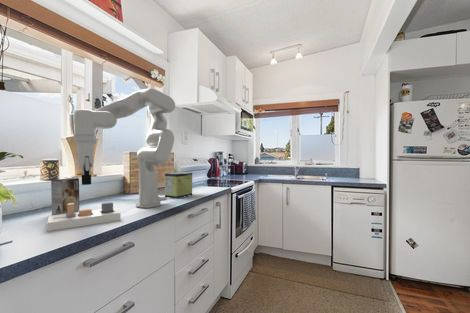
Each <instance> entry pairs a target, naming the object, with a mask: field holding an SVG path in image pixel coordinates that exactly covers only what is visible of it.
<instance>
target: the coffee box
mask: <svg viewBox="0 0 470 313" xmlns="http://www.w3.org/2000/svg"><path fill="white" fill-rule="evenodd" d="M50 182H51V184H50V187H51V188H50V189H51V216H52V215H60V214H66V213H68V203H74V212H75V213H76V212H79V211H80V178H78V177H77V178H76V177H75V178H74V177H72V178H71V177H68V178H67V177H65V178H59V179H58V178H57V179H51V181H50Z"/></svg>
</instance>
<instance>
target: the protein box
mask: <svg viewBox="0 0 470 313" xmlns="http://www.w3.org/2000/svg"><path fill="white" fill-rule="evenodd" d="M188 195H191V196H193V172H188V171H187V172H185V171H178V172H167V173H165V174H164V197H166V198H167V197H170V198H169V199H175V198H177V199H180V198H179V197H182V198H185V197H184V196H186V197H189V196H188Z"/></svg>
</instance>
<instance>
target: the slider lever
mask: <svg viewBox="0 0 470 313" xmlns="http://www.w3.org/2000/svg"><path fill="white" fill-rule="evenodd" d="M75 213H76V212H74V203H68V213H66V217H74V216H76V214H75Z"/></svg>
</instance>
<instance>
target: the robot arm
mask: <svg viewBox="0 0 470 313" xmlns="http://www.w3.org/2000/svg"><path fill="white" fill-rule="evenodd" d="M145 107H147V111H148V113H149V114H150V117H151V122H150V125H149V126H150V127H149V129H148V132H147V134H146V138H145V142H146V144H147V145H148V146H145V147H142V148H140V149H139V150H138V151H137V154H136V160H137V164H138V202H136V203H135V207H136V208H138V209H139V208H141V209H149V208H151V209H152V208H156V207H160V206H161V202H162V201H163V202H164V201H167V199H168V198H167V197H165V196H163V197H162V196H158V195H159V193H158V190H159V189H158V188H159V186H158V185H159V184H158V182H159V179H158V177H159V175H158V174H159V173H158V169H157V167H156V166H163V165H166V164H167V163H168V161H169V159H170V157H171V153H172V150H173V146H174V143H175V135H174V133H173V131H172V130H171V129H168V128H167V126H168V122H167V119H166V118H165V116H164V114H169V113H172V112H174V111H175V109H176V102H175V100H174V99H173V98H172V97H170V96H169V95H167V94H165V93H164V92H162V91H160V90H157V89H155V88H144V89H139V90H137V91H134V92H132V93H130V94H129V95H127V96H125V97H123V98H121V99H118V100H115V101H114V102H111V103H108V104H106V105H104V106H102V107H99V108H97V109H95V110H92V109H87V108H85V109H84V108H78V109H75V110H74V111H73V135H74V136H73V139H74V144H77V148H76V150H77V151H76V152H77V153H76V157H77V158H76V159H77V166H76V167H77V168H79V169H81V185H82V186H87V185H91V184H92V174H91V173H92V172H91V168H93V166H94V145H95V144H97V130H108V129H112V128H115V126H116V125H117V122H118V121H117V120H119V119H122V118H127V117H131V116H132V115H134V114H136V113H137V112H139V111H140V110H143V109H144V108H145Z"/></svg>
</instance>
